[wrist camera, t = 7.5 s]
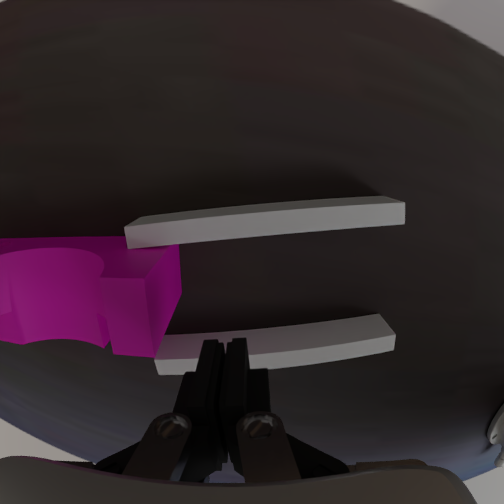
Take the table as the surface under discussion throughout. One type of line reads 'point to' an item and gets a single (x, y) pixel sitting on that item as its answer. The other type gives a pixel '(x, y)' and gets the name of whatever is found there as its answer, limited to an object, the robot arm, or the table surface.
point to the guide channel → (262, 224)
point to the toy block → (88, 291)
